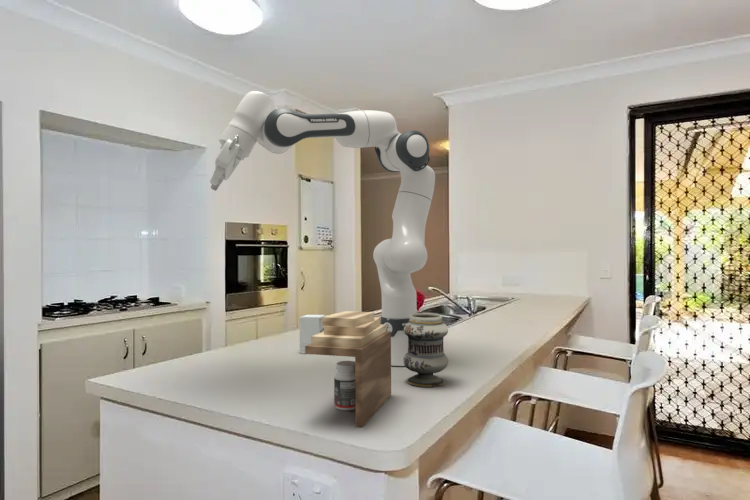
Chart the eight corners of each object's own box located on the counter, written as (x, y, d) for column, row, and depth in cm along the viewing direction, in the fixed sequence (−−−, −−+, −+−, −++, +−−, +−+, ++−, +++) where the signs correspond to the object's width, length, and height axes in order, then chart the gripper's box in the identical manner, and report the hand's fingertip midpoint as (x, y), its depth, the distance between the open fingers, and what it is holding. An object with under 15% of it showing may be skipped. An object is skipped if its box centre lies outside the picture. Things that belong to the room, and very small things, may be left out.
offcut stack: (311, 344, 101) (311, 319, 101) (343, 330, 119) (343, 308, 119) (360, 347, 98) (360, 321, 98) (386, 332, 116) (386, 309, 116)
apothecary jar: (421, 391, 120) (421, 319, 120) (394, 380, 130) (394, 314, 130) (458, 383, 127) (457, 315, 127) (429, 373, 137) (429, 310, 137)
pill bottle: (334, 403, 111) (334, 360, 111) (358, 402, 112) (358, 359, 112) (334, 411, 106) (334, 366, 106) (360, 410, 106) (359, 365, 106)
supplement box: (319, 354, 163) (319, 317, 163) (299, 353, 164) (298, 316, 164) (326, 350, 170) (326, 314, 170) (306, 349, 172) (306, 313, 172)
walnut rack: (305, 421, 100) (305, 346, 100) (343, 391, 121) (343, 329, 121) (362, 427, 96) (361, 349, 96) (391, 395, 117) (390, 331, 117)
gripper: (249, 139, 124) (224, 186, 122) (245, 157, 144) (223, 197, 141) (226, 127, 123) (200, 174, 120) (225, 146, 142) (203, 187, 140)
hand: (212, 187), depth 131 cm, fingers open, 8 cm apart
